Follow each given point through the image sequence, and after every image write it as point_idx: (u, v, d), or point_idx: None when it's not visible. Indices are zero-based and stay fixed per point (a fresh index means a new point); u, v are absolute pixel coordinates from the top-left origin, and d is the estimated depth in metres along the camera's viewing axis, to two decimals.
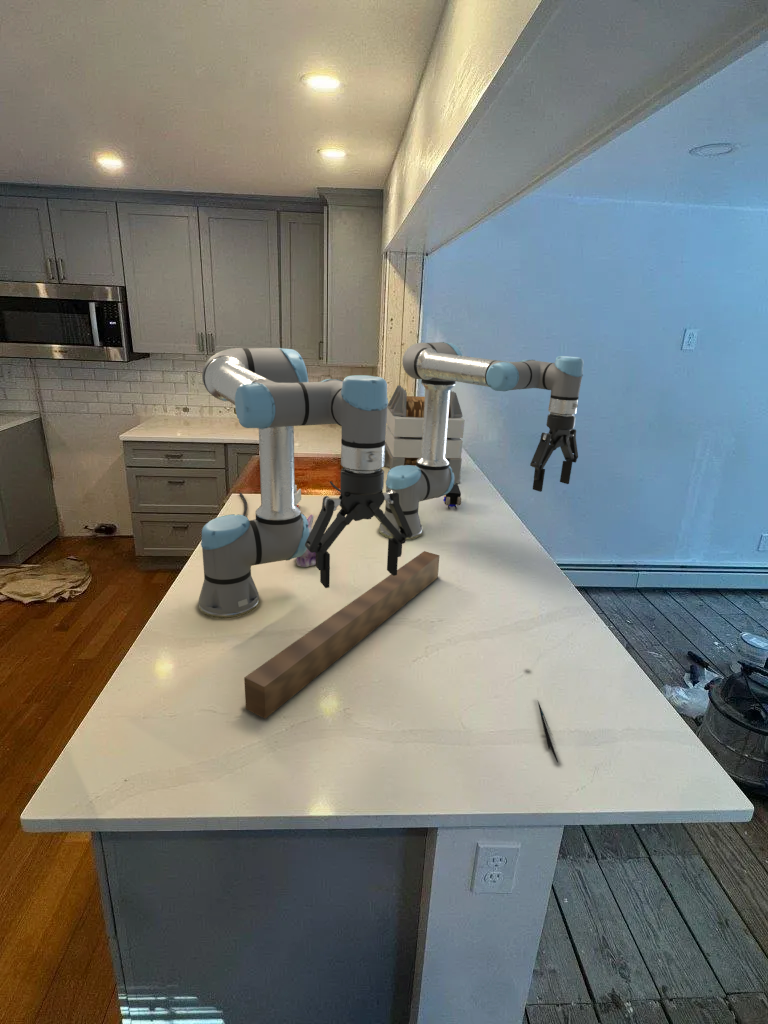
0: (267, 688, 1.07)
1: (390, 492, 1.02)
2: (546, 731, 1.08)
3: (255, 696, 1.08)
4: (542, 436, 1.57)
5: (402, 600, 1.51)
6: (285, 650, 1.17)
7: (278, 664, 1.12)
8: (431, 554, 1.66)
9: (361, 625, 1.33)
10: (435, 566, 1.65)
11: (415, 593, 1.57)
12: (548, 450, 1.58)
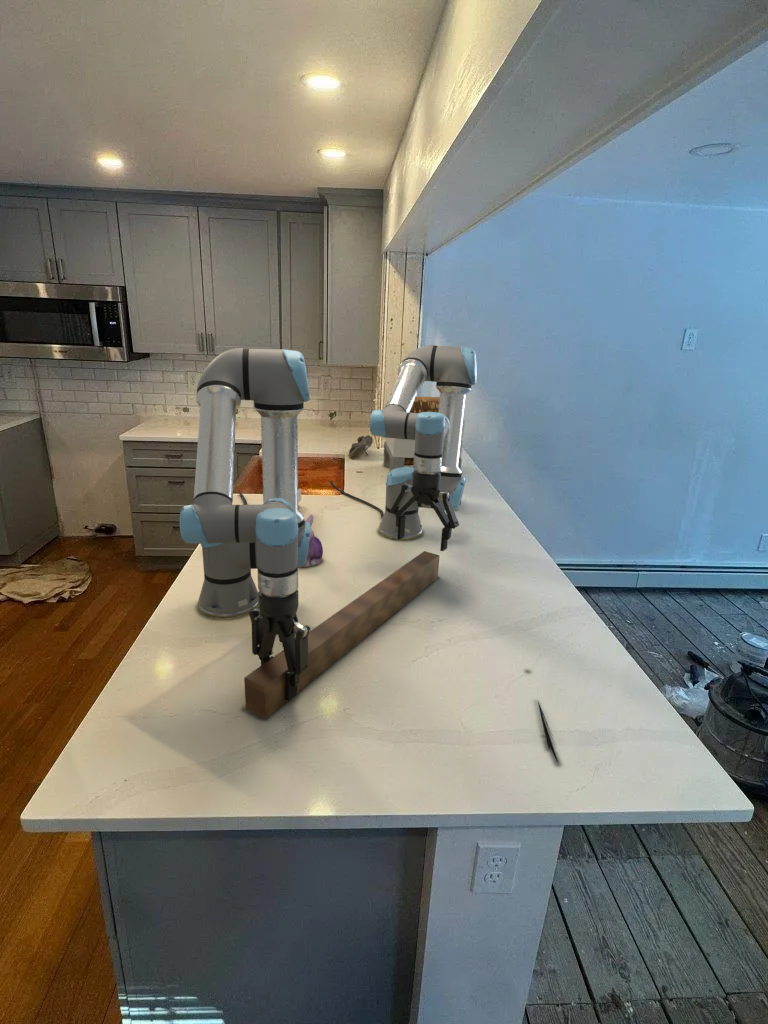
0: (267, 688, 1.07)
1: (301, 627, 1.07)
2: (546, 731, 1.08)
3: (255, 696, 1.08)
4: None
5: (402, 600, 1.51)
6: None
7: (278, 664, 1.12)
8: (431, 554, 1.66)
9: (361, 625, 1.33)
10: (435, 566, 1.65)
11: (415, 593, 1.57)
12: (408, 502, 1.57)
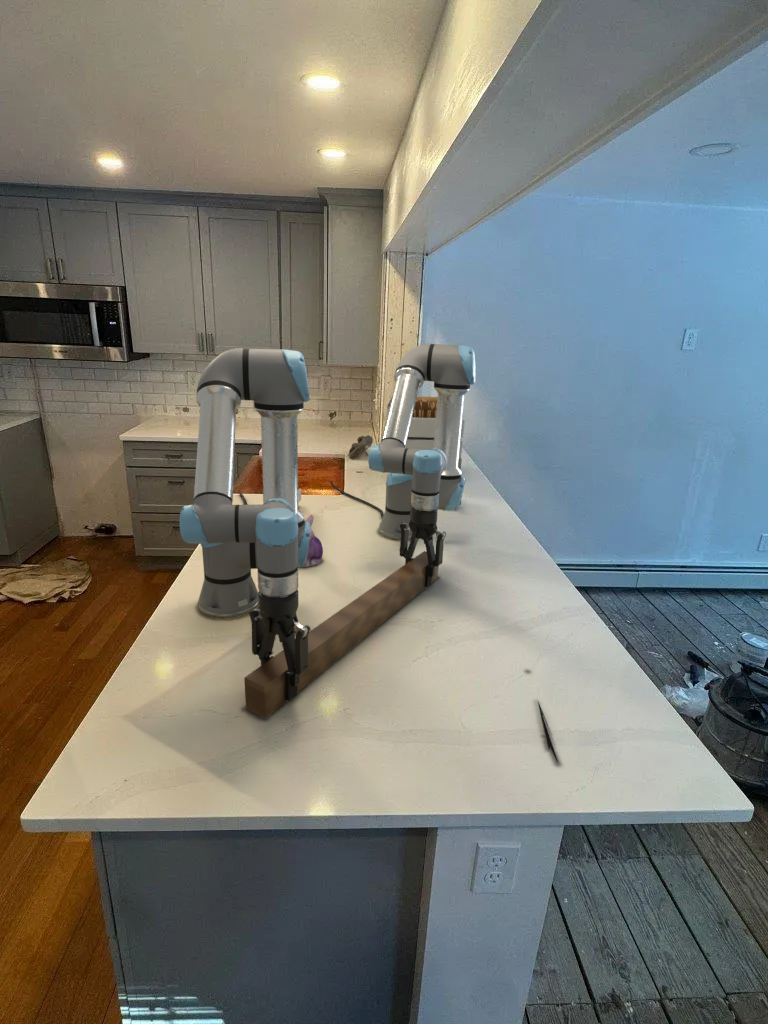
0: (267, 688, 1.07)
1: (301, 627, 1.07)
2: (546, 731, 1.08)
3: (255, 696, 1.08)
4: None
5: (402, 600, 1.51)
6: None
7: (278, 664, 1.12)
8: None
9: (361, 625, 1.33)
10: (435, 566, 1.65)
11: (415, 593, 1.57)
12: None
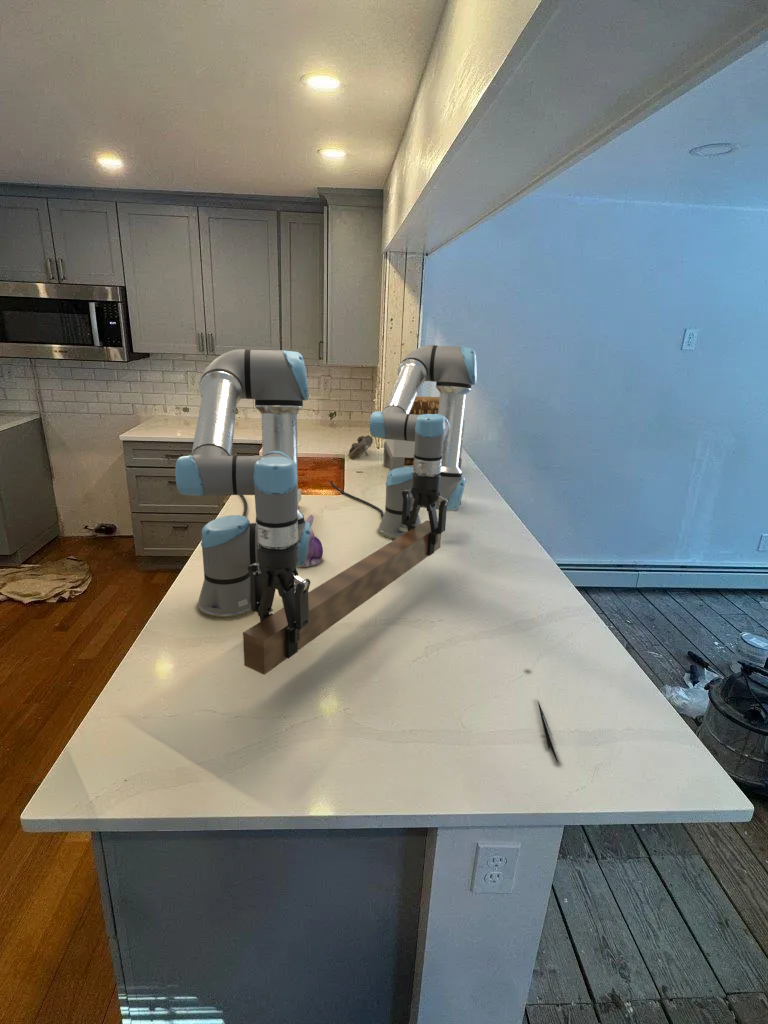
0: (267, 642, 1.04)
1: (301, 580, 1.03)
2: (546, 731, 1.08)
3: (254, 652, 1.05)
4: None
5: (405, 566, 1.48)
6: None
7: (278, 621, 1.09)
8: None
9: (362, 588, 1.30)
10: (438, 535, 1.62)
11: (417, 561, 1.54)
12: None
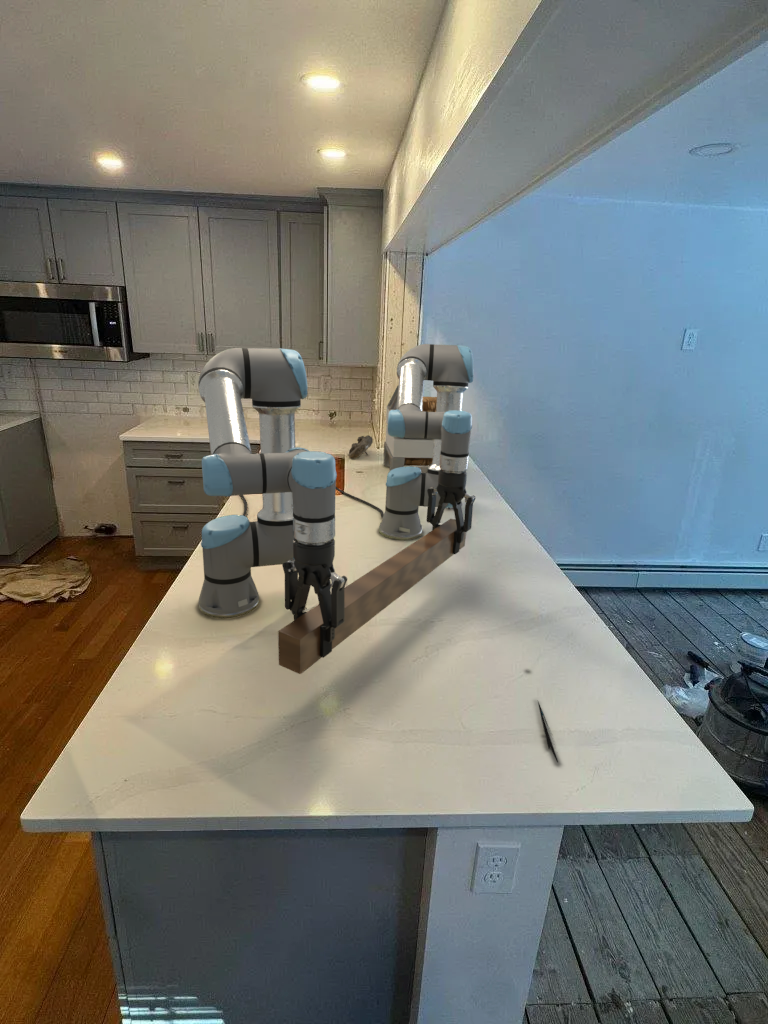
0: (303, 641, 1.02)
1: (338, 577, 1.02)
2: (546, 731, 1.08)
3: (289, 651, 1.03)
4: None
5: (432, 565, 1.46)
6: (318, 606, 1.12)
7: (312, 619, 1.07)
8: None
9: (392, 586, 1.29)
10: None
11: (443, 559, 1.52)
12: None
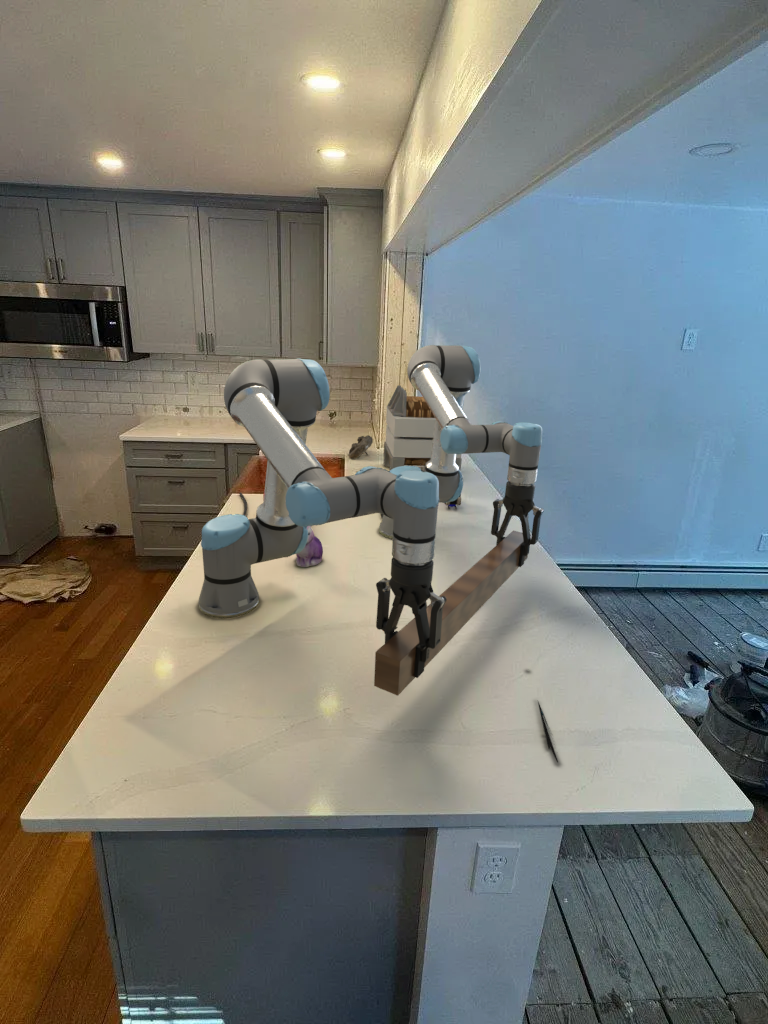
0: (402, 662, 1.00)
1: (438, 598, 1.00)
2: (546, 731, 1.08)
3: (387, 672, 1.02)
4: None
5: (502, 578, 1.44)
6: (408, 625, 1.11)
7: (406, 639, 1.06)
8: (522, 534, 1.60)
9: (472, 602, 1.27)
10: None
11: (511, 572, 1.51)
12: (504, 519, 1.54)
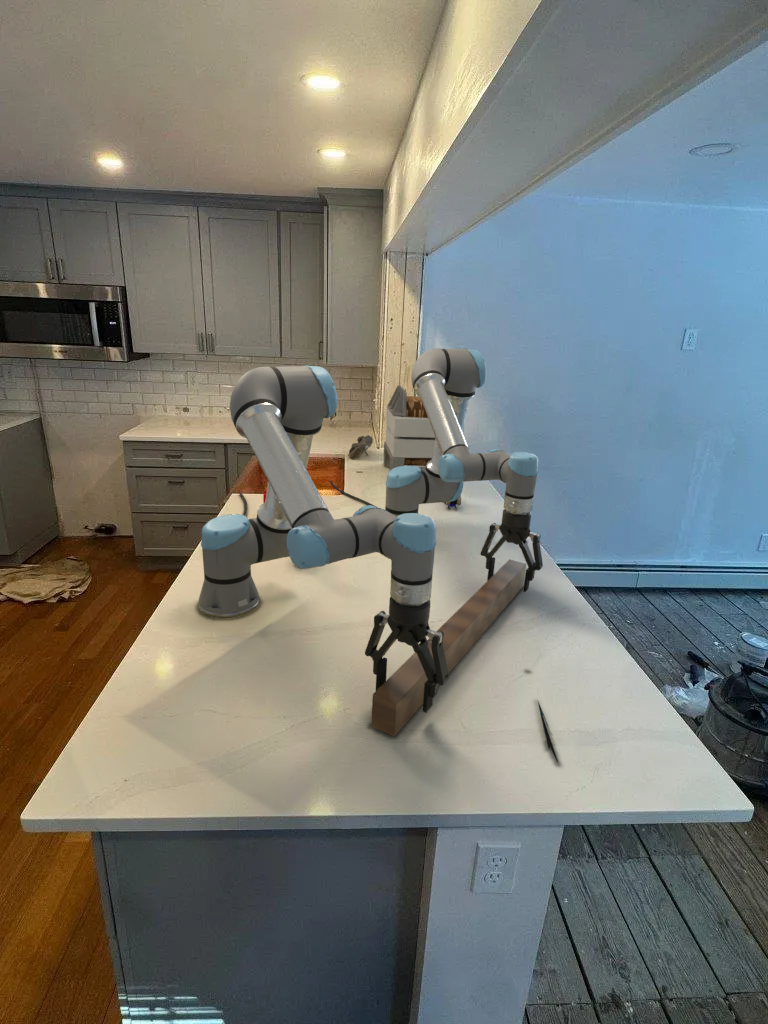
0: (398, 705, 1.04)
1: (435, 633, 1.03)
2: (546, 731, 1.08)
3: (384, 714, 1.05)
4: None
5: (497, 610, 1.48)
6: (405, 665, 1.14)
7: (403, 680, 1.09)
8: (518, 563, 1.63)
9: (467, 638, 1.30)
10: (522, 575, 1.62)
11: (507, 603, 1.54)
12: None
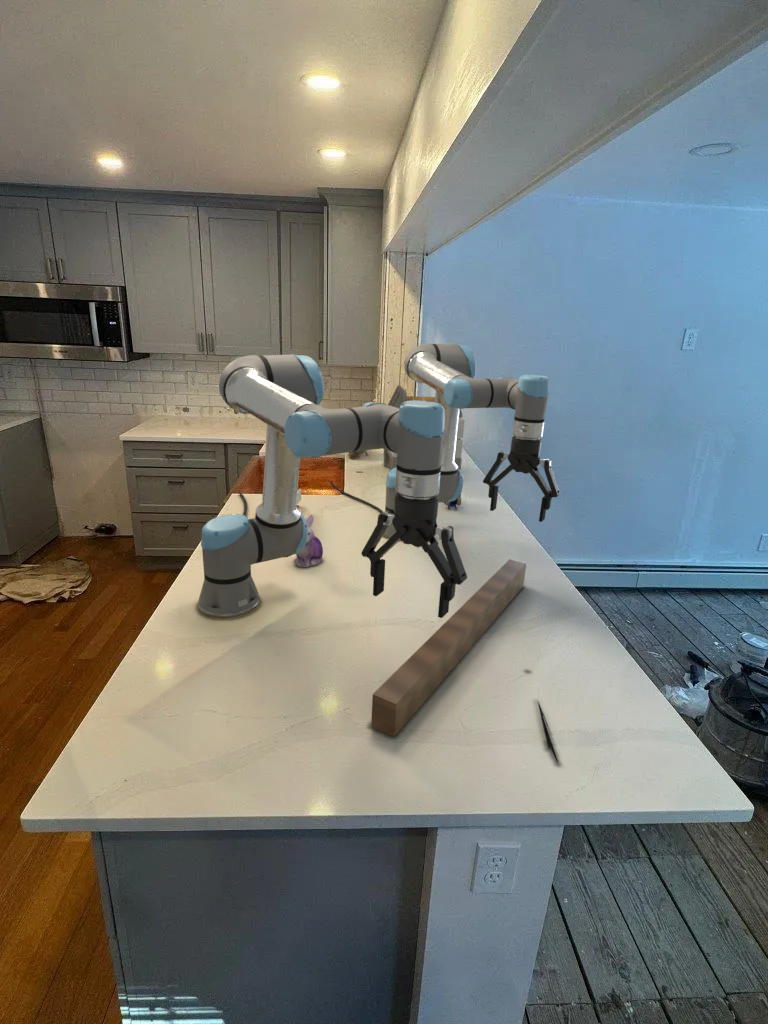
0: (398, 705, 1.04)
1: (444, 528, 0.96)
2: (546, 731, 1.08)
3: (384, 714, 1.05)
4: None
5: (497, 610, 1.48)
6: (405, 665, 1.14)
7: (403, 680, 1.09)
8: (518, 563, 1.63)
9: (467, 638, 1.30)
10: (522, 575, 1.62)
11: (507, 603, 1.54)
12: None
